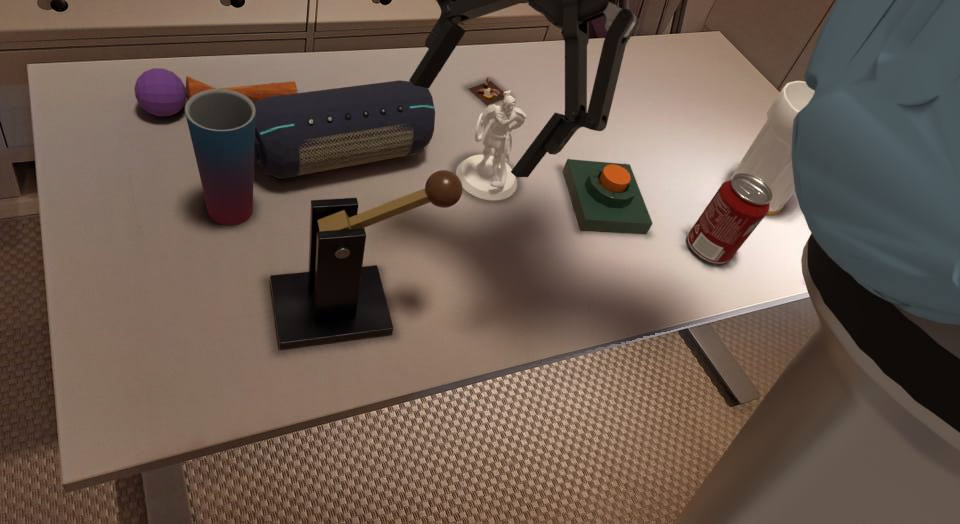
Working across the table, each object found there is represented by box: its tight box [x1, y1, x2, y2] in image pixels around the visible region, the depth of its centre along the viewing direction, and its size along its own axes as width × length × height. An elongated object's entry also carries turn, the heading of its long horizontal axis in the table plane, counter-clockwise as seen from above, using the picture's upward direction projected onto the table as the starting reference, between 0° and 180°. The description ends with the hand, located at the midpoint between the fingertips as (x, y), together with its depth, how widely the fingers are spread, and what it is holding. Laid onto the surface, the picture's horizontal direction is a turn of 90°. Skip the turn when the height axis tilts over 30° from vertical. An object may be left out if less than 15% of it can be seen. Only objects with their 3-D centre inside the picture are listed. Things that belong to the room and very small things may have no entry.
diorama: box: [468, 76, 505, 106], centre depth 105 cm, size 3×4×2 cm
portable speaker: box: [253, 80, 436, 179], centre depth 85 cm, size 25×10×10 cm, turn 118°
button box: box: [562, 158, 654, 235], centre depth 93 cm, size 12×10×4 cm
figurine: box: [455, 89, 527, 201], centre depth 87 cm, size 9×9×15 cm
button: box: [599, 164, 631, 193], centre depth 91 cm, size 4×4×2 cm
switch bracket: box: [269, 197, 394, 350], centre depth 67 cm, size 12×9×15 cm
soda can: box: [687, 173, 773, 264], centre depth 89 cm, size 7×7×12 cm
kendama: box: [134, 67, 298, 117], centre depth 88 cm, size 6×6×20 cm
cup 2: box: [728, 80, 815, 216], centre depth 97 cm, size 11×11×17 cm
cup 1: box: [184, 88, 256, 226], centre depth 73 cm, size 7×7×15 cm
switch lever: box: [318, 169, 464, 231], centre depth 63 cm, size 14×4×4 cm, turn 107°
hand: (467, 128), depth 61 cm, fingers open, 13 cm apart
